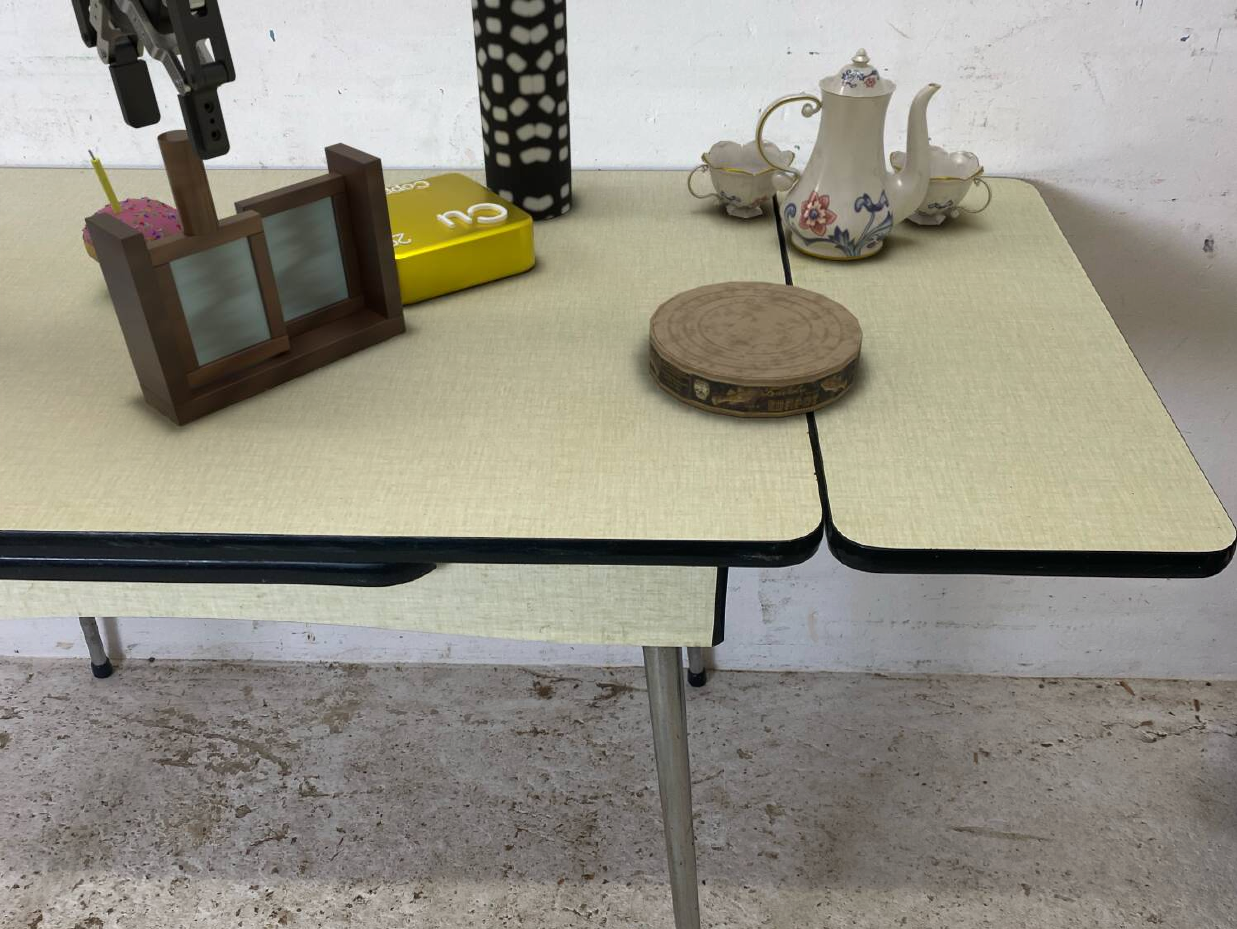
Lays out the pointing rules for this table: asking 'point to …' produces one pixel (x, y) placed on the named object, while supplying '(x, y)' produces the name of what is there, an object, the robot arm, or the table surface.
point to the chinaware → (846, 169)
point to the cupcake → (134, 213)
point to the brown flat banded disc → (754, 348)
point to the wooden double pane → (305, 278)
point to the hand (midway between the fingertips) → (177, 140)
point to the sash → (214, 276)
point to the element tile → (455, 236)
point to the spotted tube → (525, 102)
